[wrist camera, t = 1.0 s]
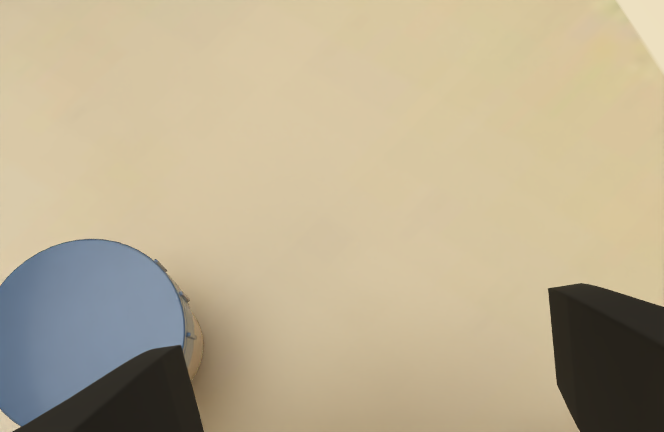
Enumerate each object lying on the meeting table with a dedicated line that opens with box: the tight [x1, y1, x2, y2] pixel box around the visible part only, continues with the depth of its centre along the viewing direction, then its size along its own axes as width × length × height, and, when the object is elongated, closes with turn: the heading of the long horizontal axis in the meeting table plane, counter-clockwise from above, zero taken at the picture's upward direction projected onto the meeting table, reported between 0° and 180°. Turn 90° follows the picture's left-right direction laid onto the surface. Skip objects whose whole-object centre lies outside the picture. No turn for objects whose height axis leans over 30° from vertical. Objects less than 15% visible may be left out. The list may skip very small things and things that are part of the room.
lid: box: [0, 239, 197, 427], centre depth 16 cm, size 5×5×2 cm
